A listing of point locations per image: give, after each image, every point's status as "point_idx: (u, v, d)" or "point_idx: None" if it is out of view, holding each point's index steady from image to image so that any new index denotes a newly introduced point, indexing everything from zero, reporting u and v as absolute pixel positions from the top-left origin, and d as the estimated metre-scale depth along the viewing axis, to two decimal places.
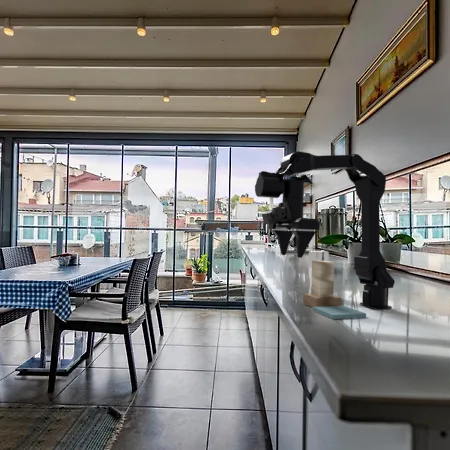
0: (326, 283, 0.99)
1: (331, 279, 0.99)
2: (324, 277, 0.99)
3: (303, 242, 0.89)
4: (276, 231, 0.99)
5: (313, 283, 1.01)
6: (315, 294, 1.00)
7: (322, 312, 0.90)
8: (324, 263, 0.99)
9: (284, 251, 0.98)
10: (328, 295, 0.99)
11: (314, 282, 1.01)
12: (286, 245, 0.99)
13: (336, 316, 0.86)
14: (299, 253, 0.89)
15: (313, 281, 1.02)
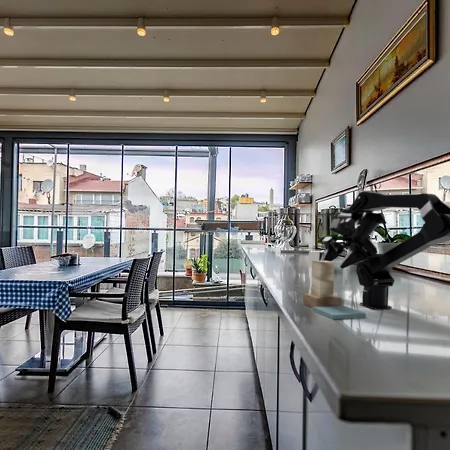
0: (326, 283, 0.99)
1: (331, 279, 0.99)
2: (324, 277, 0.99)
3: (352, 258, 0.97)
4: (329, 244, 1.08)
5: (313, 283, 1.01)
6: (315, 294, 1.00)
7: (322, 312, 0.90)
8: (324, 263, 0.99)
9: None
10: (328, 295, 0.99)
11: (314, 282, 1.01)
12: (328, 260, 1.07)
13: (336, 316, 0.86)
14: (343, 263, 0.97)
15: (313, 281, 1.02)
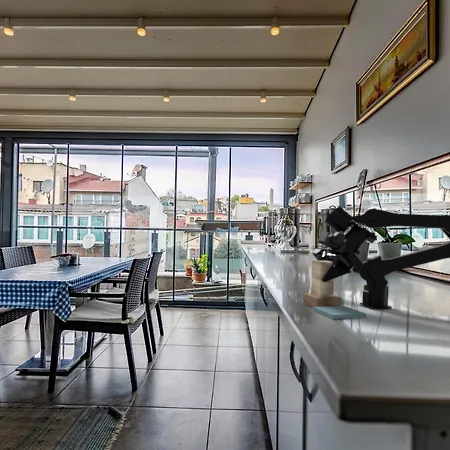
0: (326, 283, 0.99)
1: None
2: None
3: (334, 272, 0.98)
4: (322, 257, 1.04)
5: (313, 283, 1.01)
6: (315, 294, 1.00)
7: (322, 312, 0.90)
8: (324, 263, 0.99)
9: None
10: (328, 295, 0.99)
11: (314, 282, 1.01)
12: None
13: (336, 316, 0.86)
14: (325, 277, 0.98)
15: (313, 281, 1.02)
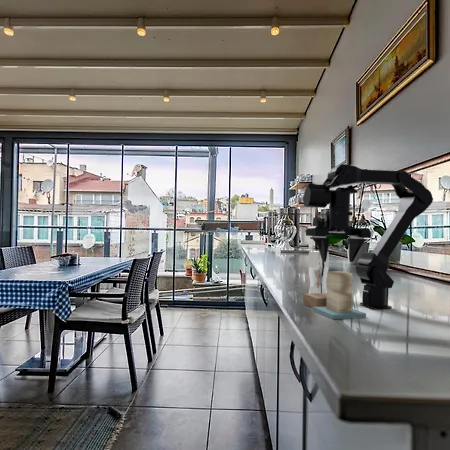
0: (345, 296, 0.90)
1: (350, 291, 0.90)
2: (343, 290, 0.89)
3: (321, 248, 0.99)
4: (348, 239, 1.04)
5: (330, 296, 0.91)
6: (332, 309, 0.90)
7: (322, 312, 0.90)
8: (343, 274, 0.89)
9: (351, 258, 1.02)
10: (347, 310, 0.90)
11: (330, 296, 0.91)
12: (352, 253, 1.01)
13: (336, 316, 0.86)
14: (321, 257, 1.00)
15: (329, 294, 0.92)
